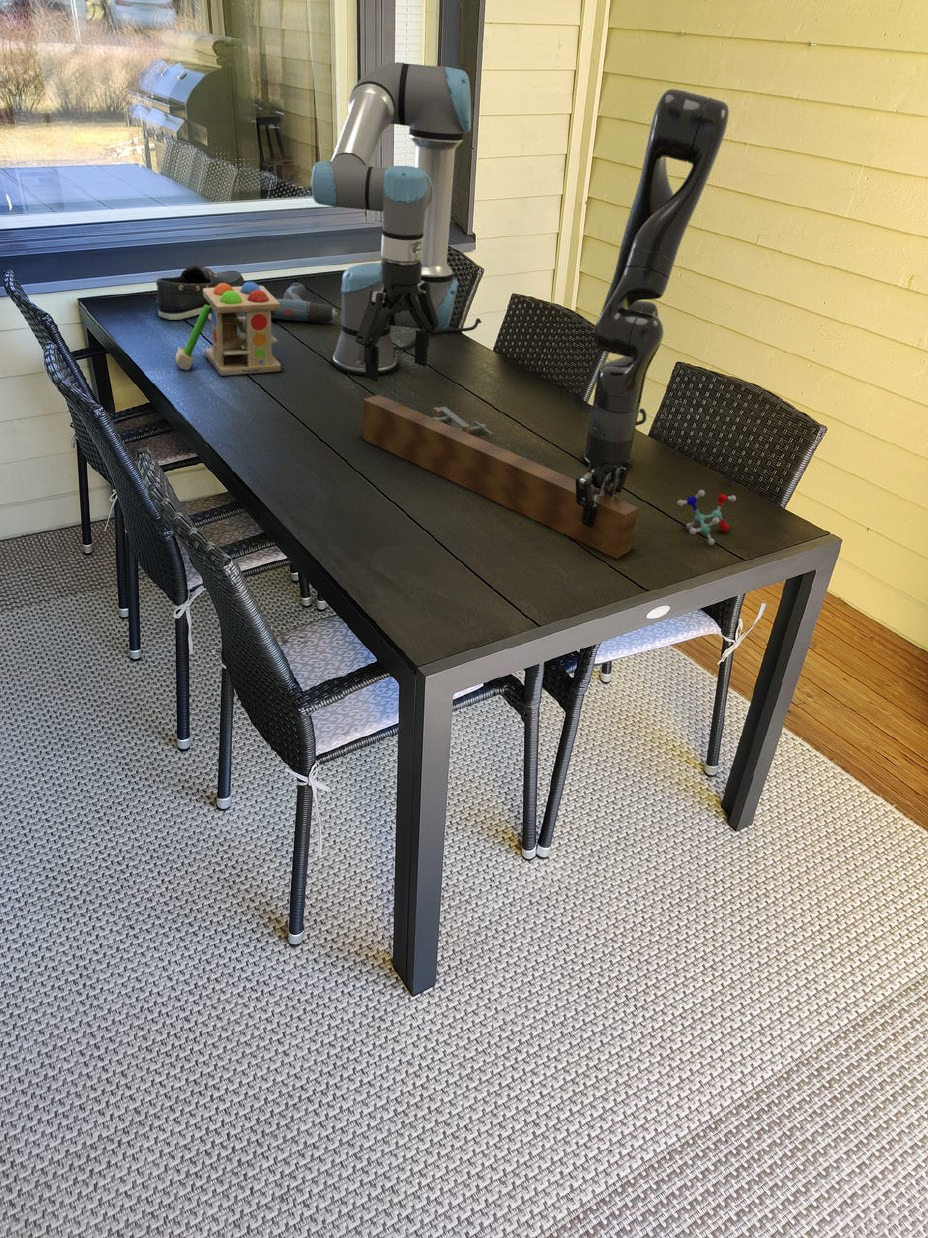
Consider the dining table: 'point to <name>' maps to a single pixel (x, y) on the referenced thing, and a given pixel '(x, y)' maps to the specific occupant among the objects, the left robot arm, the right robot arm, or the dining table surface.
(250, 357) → the pounding bench toy
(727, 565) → the dining table surface
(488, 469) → the bar
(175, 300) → the boat shoe
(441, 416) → the clamp
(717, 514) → the molecular model
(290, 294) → the power drill
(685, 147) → the right robot arm
